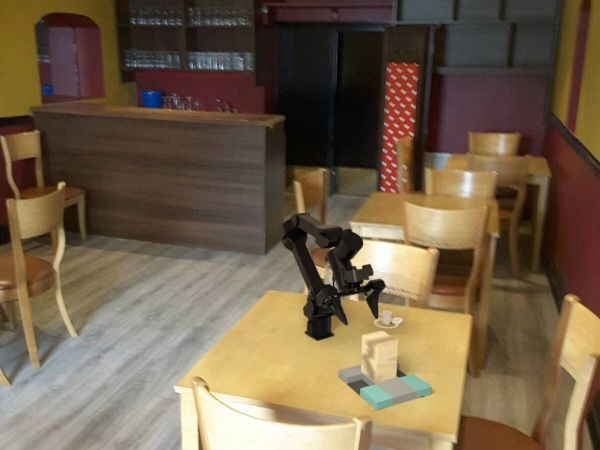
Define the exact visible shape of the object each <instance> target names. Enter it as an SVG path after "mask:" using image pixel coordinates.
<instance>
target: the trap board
mask: <svg viewBox="0 0 600 450" xmlns="http://www.w3.org/2000/svg"><path fill="white" fill-rule="evenodd" d="M404 376H408V375H407V374H406V373H405V372H403V371H401V370H400V363H399V362H397V372H396V378H392V379H389V380H385V381H381V382H378V383H376V382H375V381H373V380H372V379H371V378H370V377H368V376H367V375H366V374H365V373H363V372H362V371H361V364H358V365H353V366H351V367H346V368H342V369H338V378H339V379H340V380H341V381H342V382H343V383H345V384H346V386H348V387H349V388H350V389H352V391H354V392H355V393H356V394H357V395H358V396H360V388H364V387H367V386H371V385H375V384H376V385H377V386H379V387H380V388H381V389H382V390H384V391H385V392H386V393H387V394H389V395H390V396H391V397H392V398H393V406H396V405H399V404H398V403H400V404H403V403H406V402H405V401H407V402H410V401H413V400H416V399H415V398H416V397H417V391H416V390H415V389H413V388H412V387H411V386H409V385H408V384H407V383H405V382H404V381H403V380H401V379H400V377H404ZM412 399H413V400H412ZM409 400H410V401H409ZM402 402H403V403H402ZM395 404H396V405H395Z"/></svg>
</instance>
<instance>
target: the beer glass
mask: <svg viewBox="0 0 600 450" xmlns="http://www.w3.org/2000/svg"><path fill="white" fill-rule="evenodd" d="M323 272H324V273H323V283H324V284H331V285H332V287H336V288H337V290H339V289H338V286H337V283H336V281H333V279H332V277H333V276H334V275H333V272H332V269H331V267H330V264H329V263H328V264H326V265H325V266H324V271H323ZM343 298H344V297H341V305H342V308H343V310H344V305H343V300H344V299H343ZM344 311H345V310H344Z"/></svg>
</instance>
